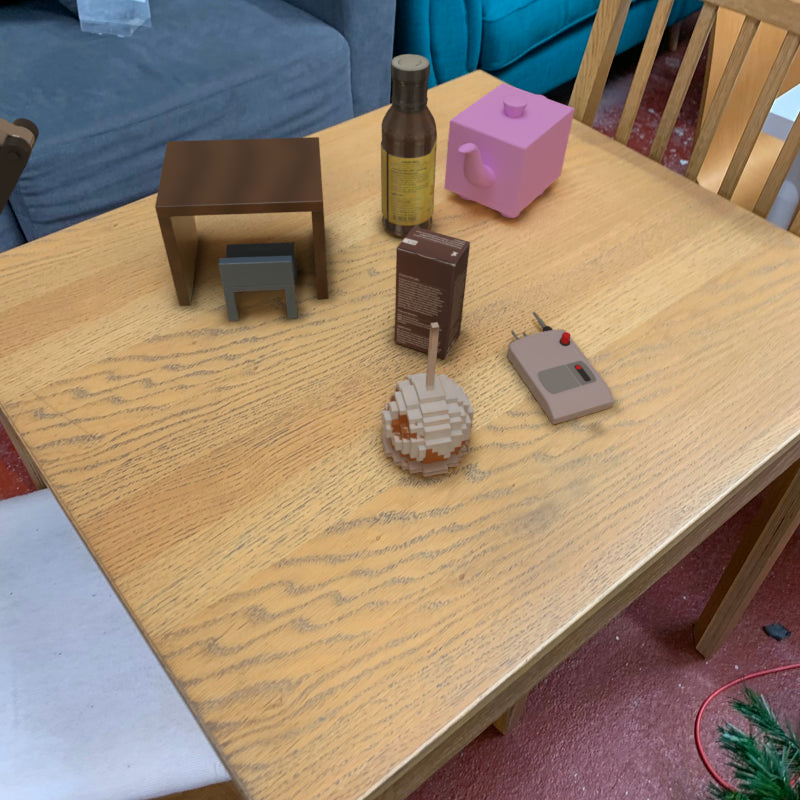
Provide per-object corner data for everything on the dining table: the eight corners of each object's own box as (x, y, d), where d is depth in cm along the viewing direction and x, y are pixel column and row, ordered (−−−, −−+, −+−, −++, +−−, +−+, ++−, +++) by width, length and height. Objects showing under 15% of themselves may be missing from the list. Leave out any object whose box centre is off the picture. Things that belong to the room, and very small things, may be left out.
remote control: (562, 439, 71) (568, 418, 69) (488, 331, 81) (492, 309, 79) (623, 420, 73) (630, 400, 71) (543, 316, 83) (548, 295, 80)
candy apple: (374, 419, 72) (375, 299, 61) (453, 407, 74) (468, 286, 62) (392, 485, 67) (397, 367, 56) (477, 471, 69) (497, 352, 57)
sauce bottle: (442, 228, 93) (456, 66, 78) (402, 247, 90) (408, 82, 75) (409, 203, 96) (416, 43, 81) (369, 221, 93) (369, 58, 78)
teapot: (501, 152, 105) (514, 61, 95) (567, 177, 101) (587, 85, 92) (417, 219, 94) (423, 124, 84) (487, 251, 90) (501, 154, 81)
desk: (179, 305, 82) (154, 206, 73) (188, 238, 90) (167, 140, 81) (328, 298, 84) (323, 200, 74) (324, 232, 91) (318, 136, 82)
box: (461, 333, 80) (472, 240, 71) (444, 361, 78) (454, 267, 69) (409, 316, 82) (413, 223, 73) (391, 342, 79) (394, 249, 70)
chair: (229, 321, 81) (218, 264, 75) (232, 277, 86) (222, 220, 80) (297, 318, 81) (292, 261, 76) (297, 275, 86) (291, 218, 80)
